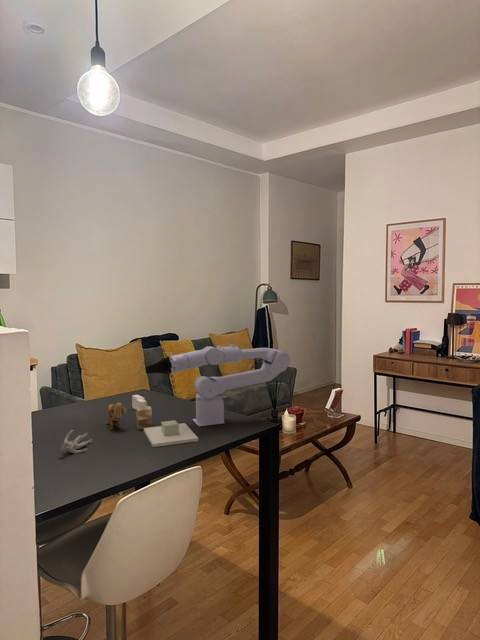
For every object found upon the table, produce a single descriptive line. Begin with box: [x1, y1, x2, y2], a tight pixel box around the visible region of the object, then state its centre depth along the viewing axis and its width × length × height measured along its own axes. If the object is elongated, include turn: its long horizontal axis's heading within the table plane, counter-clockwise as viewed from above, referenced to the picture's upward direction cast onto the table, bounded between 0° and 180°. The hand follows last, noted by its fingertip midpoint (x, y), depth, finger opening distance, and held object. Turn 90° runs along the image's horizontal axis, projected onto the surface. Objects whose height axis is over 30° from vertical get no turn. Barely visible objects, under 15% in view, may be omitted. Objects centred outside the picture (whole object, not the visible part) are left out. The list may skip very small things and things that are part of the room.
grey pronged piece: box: [58, 429, 93, 454], centre depth 134 cm, size 8×5×12 cm
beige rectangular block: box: [131, 394, 148, 410], centre depth 174 cm, size 15×11×6 cm
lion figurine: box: [105, 402, 128, 430], centre depth 157 cm, size 15×5×9 cm, turn 34°
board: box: [143, 419, 199, 448], centre depth 146 cm, size 14×16×4 cm
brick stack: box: [135, 405, 153, 430], centre depth 155 cm, size 5×5×6 cm
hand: (146, 370), depth 151 cm, fingers open, 7 cm apart
